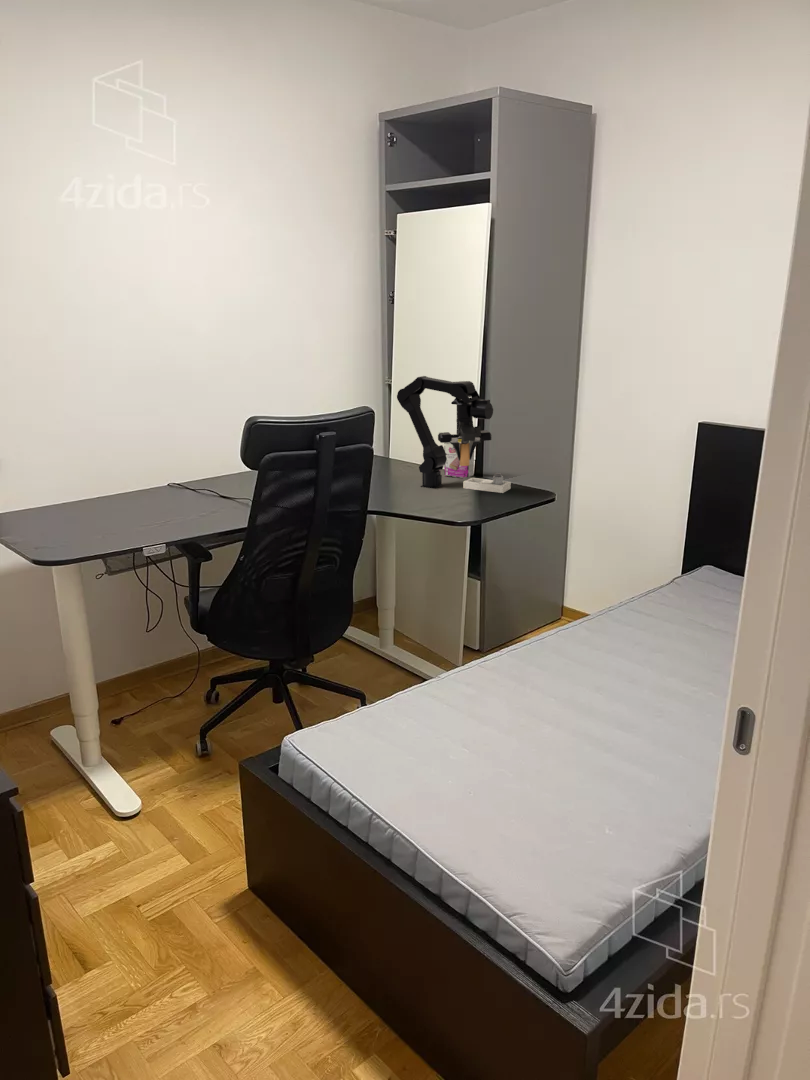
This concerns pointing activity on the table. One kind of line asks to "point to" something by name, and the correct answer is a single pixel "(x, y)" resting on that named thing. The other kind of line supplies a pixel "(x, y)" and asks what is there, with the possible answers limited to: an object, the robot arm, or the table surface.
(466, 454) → the orange cylindrical bottle
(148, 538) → the table surface
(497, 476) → the grey plug
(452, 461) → the snack bar box
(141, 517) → the table surface
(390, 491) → the table surface
